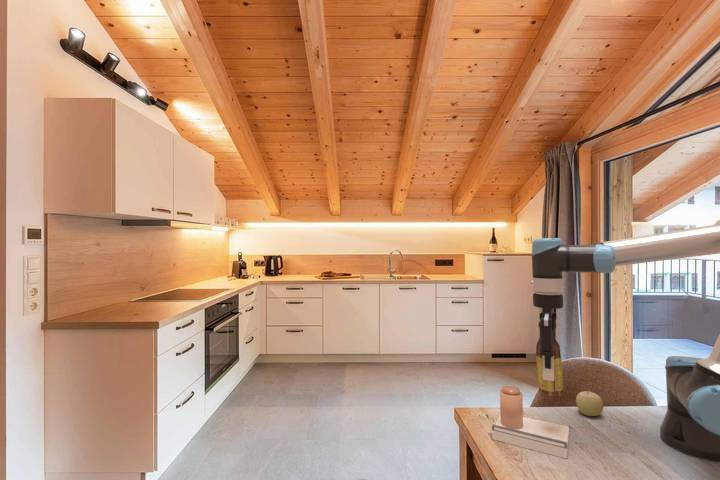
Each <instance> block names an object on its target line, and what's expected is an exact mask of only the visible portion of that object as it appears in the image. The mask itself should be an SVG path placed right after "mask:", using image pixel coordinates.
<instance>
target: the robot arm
mask: <svg viewBox="0 0 720 480" xmlns="http://www.w3.org/2000/svg"><path fill="white" fill-rule="evenodd" d="M718 254H720V219H718V220H717V221H716V222H714V224H711V225H706V226H705V225H704V226H697V227H691V228H685V229H679V230H678V229H677V230H673V231H666V232H659V233H652V234H646V235H640V236H635V237H628V238H620V239H614V240H608V241H602V242H594V243H589V244H573V245H572V244H571V245H569V244H563V242H562V239H561V238H559V237H553V238H552V237H548V238H547V237H545V238H544V237H543V238H541V237H540V238H535V239H534V240H532V243H531V266H532V267H531V268H532V280H530V281H529V282H530V284H532V291H533V292H534V293H533V294H532V305H533V306H534V307H535V308H541V309H542V312H540V314H539V320H540V321H541V340H542V352H541V353H539V355H542V365H543V379H544V380H550V381H554V356H553V331H554V334H555V335H556V327H557V317H558V316H557V315H558V314H557V313H556V312H555V311H554V310H559V309H562V308H564V295H563V294H562V293H563V292H564V278H563V273H584V274H585V273H586V274H589V273H591V274H592V273H593V274H594V273H597V274H609V273H613V272H614V271H615V269H616V267H621V266H629V265H637V264H643V263H644V264H645V263H654V262H661V261H669V260H676V259H685V258H692V257H695V258H696V257H702V256H703V257H704V256H710V255H711V256H712V255H718ZM552 323H553V327H552ZM664 368H665V378H666V379H665V380H666V381H665V382H666V402H667V404H666V405H667V411H666V413H665V415H664V417H663V420H662V422H661V424H660V427H659V428H660V429H659V435H660V437H659V438H661V440H662V442H664V444H666V445H667V446H669V447H671V448H673V449H674V450H676V451H678V452H681V453H683V454H686V455H689V456H692V457H695V458H698V459H702V460H705V461H706V460H707V461H712V462H719V463H720V333H719V334H718V336H717V338H716V341H715V343H714V346H713V347H712V350H711V352H710V354H709V356H707V357H706V358H700V357H693V356H683V355H671V356H668V357H667V358H666V359H665V365H664Z"/></svg>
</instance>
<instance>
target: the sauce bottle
mask: <svg viewBox="0 0 720 480" xmlns="http://www.w3.org/2000/svg"><path fill="white" fill-rule="evenodd" d="M552 327H553V323H552ZM538 328H539V338H538V340H537V342H536V346H535V347H536V349H535V352H536V353H535V358H536V373H537V374H536V375H537V387H538V391H539V393H540V394H542V395H543V396H547V397H552V398H559V397H562V396H563V395H564V391H563V390H564V378H563V365H562V356H561V347H560V344H559V342H558V341H557V339H556V333H555V334H554V331H553V356H554V381H550V380H544V379H543V365H542V355H539V353H541V352H542V340H541V320H540V321H538Z"/></svg>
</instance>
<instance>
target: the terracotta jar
mask: <svg viewBox="0 0 720 480" xmlns="http://www.w3.org/2000/svg"><path fill="white" fill-rule="evenodd" d="M523 401H524V400H523V393H522V391H521V390H520V388H519V387H517V386H514V385H504V386H502V388H500V390H499V408H500V409H499V410H500V414H499V416H500V417H501V424H502V425H503V426H505V427H507V428H511V429H521V428H523V417H524V404H523Z"/></svg>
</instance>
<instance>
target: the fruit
mask: <svg viewBox="0 0 720 480" xmlns="http://www.w3.org/2000/svg"><path fill="white" fill-rule="evenodd" d="M575 403H576V407H577V408H578V410H579V412H581V413H582V414H583V415H584V416H587V417H597V416H599V415H601V414H602V413H603V410H604V401H603V399H602V397H601V396H600V395H599V394H597V393H596V392H593V391H591V390H590V389H588V391H586V390H585V391H580V392H579V393H577V395H576V398H575Z"/></svg>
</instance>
